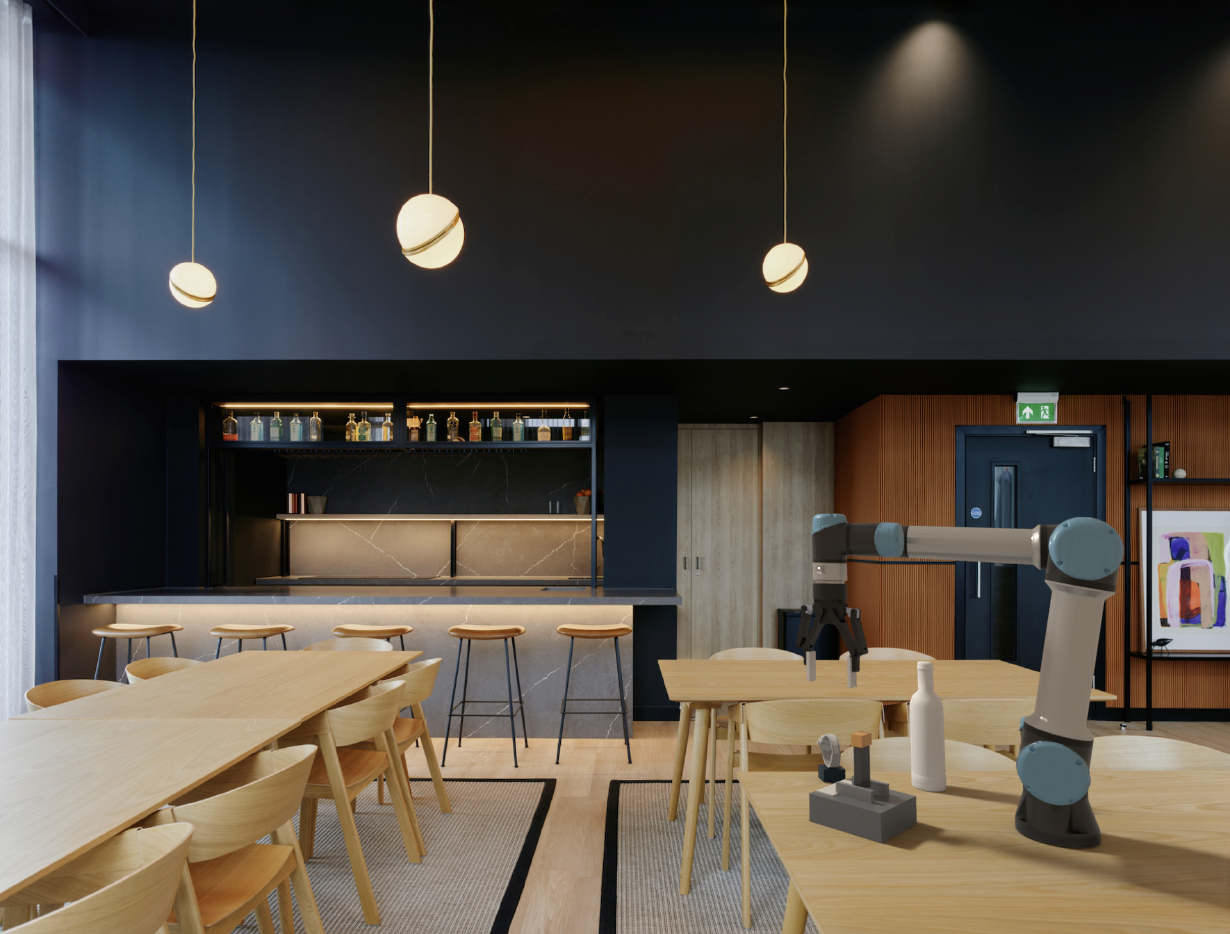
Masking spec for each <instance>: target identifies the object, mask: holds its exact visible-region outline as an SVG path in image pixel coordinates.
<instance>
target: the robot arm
mask: <svg viewBox="0 0 1230 934" xmlns="http://www.w3.org/2000/svg"><path fill="white" fill-rule="evenodd" d="M811 526H812V528H811V529H812V531H811V540H812V541H811V546H812V547H811V548H812V580H813V581H815V582H814V583H812V598H813V603H812V605H810V604H801V606H800V615H801V616H800V621H799V624H798V625H799V626H798V630H797V635H796V638H795V639H796V640H795V647H796V648H799V649H801V650H802V654H803V659H802V660H803V665H804V666H805V667H806V668H805V669H806V682H809V683H810V682H814V681H816V680H817V673H816V672H817V669H816V668H817V664H816V663H817V661H816V655H817V654H816V653H817V652H816V650H814V649H815V648H814V646H815V644H816V642H817V640H818V638H819V636H820V634H821V632H822V630H823V627H824V626H825V625H826V624H828V625H829V624H830V625H834V626H835V628H836V629H837V630H838V632H839V633H840V636H841V638H842V641H843V642H844V644H845V646H846V647H845V648H846V649H847V651H848V653H849V655H848V656H846V669H847V670H846V675H847V681H846V682H847V683H846V685H847V688H848V689H852V688H856V687H858V684H857V683H858V681H857V680H858V679H857V674H858V673H860V670H861V662H860V661H861V657H862V656H864V655H867V654H869V648H868V643H867V640H866V635H865V632H864V629H863V624H862V620H861V618H862V617H861V616H862V610H861V608H858V607H857V608H854V607H853V608H852V607H849V606H848V603H847V602H848V585H847V583H845V582H846V581H848V565H847V562H848V561H847V560H848V557H876V558H889V559H890V558H904V559H921V560H922V559H924V560H943V561H960V562H979V563H998V564H999V563H1000V564H1018V565H1033V566H1035V568H1037V569H1038V570H1039V571H1040V570H1041V571H1045V575H1044V576H1045V577H1044V582H1045V583H1046V585H1047V586H1048V587H1049V589H1050V590H1051V598H1050V602H1049V603H1050V605H1049V612H1048V618H1047V624H1046V632H1045V637H1044V645H1043V650H1042V657H1041V658H1042V659H1041V664H1040V665H1041V666H1040V672H1039V678H1038V685H1037V692H1036V697H1035V698H1036V700H1035V705H1034V706H1035V707H1034V711H1033V713H1031V714H1029V715H1028V716H1022V717H1021V718H1020V722H1019V723H1020V724H1019V727H1018V730H1019V732H1020V744H1019V751H1018V755H1017V758H1016V765H1015V766H1016V767H1015V768H1016V772H1017V775H1018V778H1019V779H1020V782H1021V783H1022V792H1021V795H1020V798H1019V801H1018V805H1017V808H1016V810H1015V814H1014V827H1015V830H1016V831H1017V832H1018V833H1020V834H1022V835H1023V836H1025V837H1027V838H1030V839H1033V840H1034V841H1037V842H1040V843H1044V844H1048V845H1053V846H1057V847H1064V848H1071V849H1072V848H1073V849H1090V848H1091V849H1092V848H1095V847H1098V846H1100V845H1101V843H1102V837H1101V835H1102V834H1101V833H1102V832H1101V829H1100V826H1099V824H1098V821H1097V819H1096V816H1095V813H1094V811H1093V808H1092V806H1091V803H1090V800H1089V799H1090V798H1089V788H1090V786H1091V782H1092V777H1091V772H1090V769H1091V763H1092V755H1093V754H1092V753H1093V746H1094V740H1095V736H1094V735H1093V734H1092V732H1091V731H1090V729H1088V726H1087V721H1088V715H1089V714H1088V713H1089V708H1090V701H1091V694H1092V687H1093V681H1094V674H1095V669H1096V668H1095V667H1096V661H1097V653H1098V647H1099V646H1098V645H1099V640H1100V633H1101V626H1102V619H1103V618H1102V617H1103V611H1104V604H1105V601H1106V600H1107V599H1109V598H1111V597H1112V596H1114V595H1115V594H1116V590H1117V583H1118V579H1119V569H1120V565H1121V563H1122V562H1123V559H1124V556H1125V555H1124V554H1125V546H1124V542H1123V540H1122V538H1121V536H1120V534H1119V533H1118V531H1117V530H1116V529H1115V528H1114V527H1113V526H1112V525H1110V524H1108V522H1106V521H1103V520H1102V519H1099V518H1094V517H1089V516H1088V517H1086V516H1085V517H1084V516H1077V517H1072V518H1069V519H1068V518H1067V519H1066V520H1064V521H1063V522H1061V523H1059V524H1058V523H1057V524H1037V526H1035V527H1034V528H1032V529H1031V528H1008V527H1007V528H1006V527H1005V528H1002V527H1001V528H1000V527H965V526H937V525H936V526H935V525H934V526H931V525H930V526H929V525H922V526H921V525H902V524H900V523H897V522H888V521H882V522H850V521H849V522H848V520H847V517H846V515H845V514H843V513H842V514H841V513H817V514H816V515H814V516H813V517H812V525H811ZM812 614H815V618H814V620H813V621H812V616H813V615H812ZM846 616H848V617H849V621H850V625H851V629H850V628H849V623H848V621H847V619H846ZM811 621H812V626H811ZM810 626H811V628H810ZM851 630H852V632H851Z"/></svg>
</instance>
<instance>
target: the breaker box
mask: <svg viewBox="0 0 1230 934" xmlns="http://www.w3.org/2000/svg"><path fill="white" fill-rule="evenodd" d="M870 786H871V787H869V788H863V787H859V786H855V785H854V774H853V775H851V779H849V778H846V779H844V780H842V781H838V782H836V783H832V784H829V785H826V786H824V787H822V788H819V789H817V790H815V791H814V790H813V791H811V792H810V793H808V803H809V806H808V807H809V809H808V810H809V811H808V812H809V818H808V819H809V822H811V823H815V824H818V825H820V826H825V827H827V828H828V827H829V828H831V829H835V830H837V831H840V832H844V833H847V834H851V835H854V836H857V837H859V838H860V837H861V838H863V839H866V840H869V841H873V842H875V843H876V842H877V843H879V844H883V843H885V842H886V841H888V840H890V839H893V837H896V836H897V835H899V834H901V833H902V832H904V831H906V830H908V829H910V828H912V827H913V826H915V825H917V824H918V813H917V812H918V811H917V795H913V794H910V793H906V792H902V791H897V790H894V789H890V783H887V782H884V781H880V780H876V779H873V778H872V779H871V778H870Z"/></svg>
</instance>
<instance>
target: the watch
mask: <svg viewBox="0 0 1230 934" xmlns="http://www.w3.org/2000/svg"><path fill="white" fill-rule="evenodd" d="M840 744H841V743H840V740H839V737H838V736H837V734H836V733H835V734H833V733H825V734H822V735H821V736H820V737H819V738H818V740H817V741H816V745H818V746H819V750H820V753H821V754H822V759H823V762H824V764H817V775H818V777H817V778H819V780H821V781H822V782H823V783H826V784H827V783H832V784H834V783H836V782H838V781H842V780H844V779H847V777H846V768H844V767H843V766H842V765H840V764H841V760H842V759H841V757H842V754H841V745H840Z"/></svg>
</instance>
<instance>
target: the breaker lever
mask: <svg viewBox="0 0 1230 934" xmlns="http://www.w3.org/2000/svg"><path fill="white" fill-rule="evenodd" d="M872 739H873V738H872V732H870V731H864V730H860V731H857V732H852V733H851V734H850V743H851V744H850V746H851V747H853V775H854V785H855V786H859V787H863V788H869V787H871V786H870V779H871V753H870V752H871V747H870V746H872V745H873V740H872Z"/></svg>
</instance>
